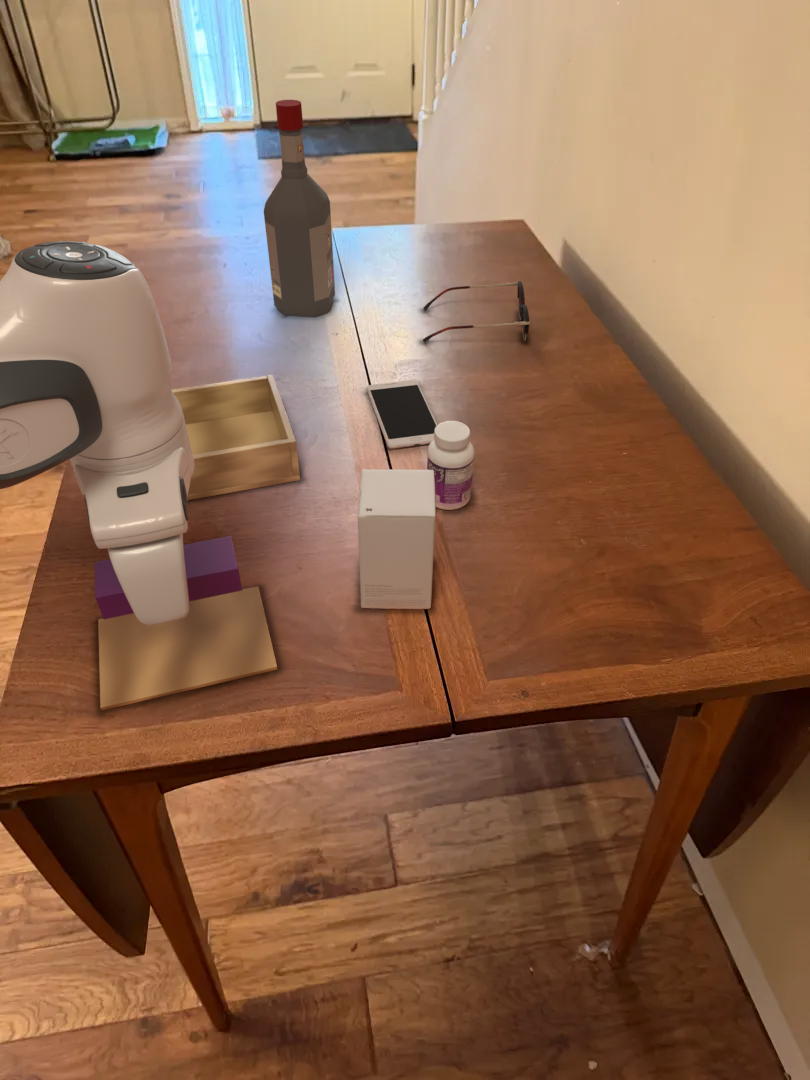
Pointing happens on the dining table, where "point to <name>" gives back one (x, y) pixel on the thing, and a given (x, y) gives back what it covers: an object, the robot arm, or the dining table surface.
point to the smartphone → (402, 413)
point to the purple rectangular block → (205, 573)
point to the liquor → (298, 227)
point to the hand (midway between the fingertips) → (169, 581)
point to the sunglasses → (522, 314)
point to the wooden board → (184, 649)
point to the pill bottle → (451, 464)
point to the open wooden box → (238, 436)
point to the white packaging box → (396, 538)
